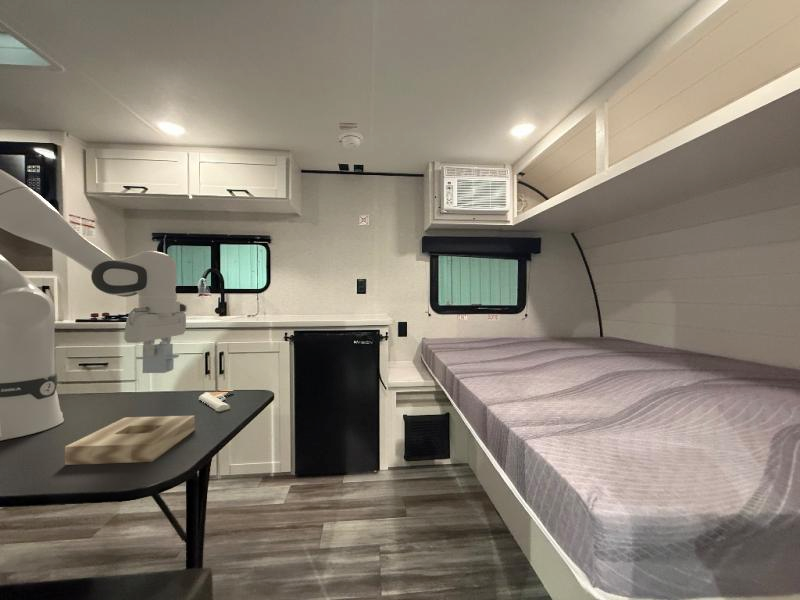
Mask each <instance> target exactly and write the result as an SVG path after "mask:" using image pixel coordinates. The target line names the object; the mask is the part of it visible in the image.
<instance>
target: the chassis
mask: <svg viewBox="0 0 800 600" xmlns="http://www.w3.org/2000/svg"><path fill="white" fill-rule="evenodd" d="M195 417H196V416H195V415H167V416H166V415H165V416H131V417H130V416H128V417H127V416H126V417H123V418H121V419H119V420H117V421H114V422H112V423H110V424H109V425H106V426H105V427H103V428H100V429H98V430H96V431H94V432H92V433H90V434H88V435H86V436H84V437H81V438H80V439H78V440H76V441H74V442H71V443H70V444H66V446H64V465H65V466H69V465H70V466H71V465H72V466H73V465H95V464H96V465H97V464H98V465H99V464H124V463H125V464H126V463H149V462H151V463H152V462H154V461H155V460H157V459H158V458H159V457H161V456H162V455H163V454H164V453H166V452H167V451H168V450H170V449H171V448H173V447H174V446H175V445H177V444H178V443H179V442H181V441H183V439H184V438H186V437H187V436H189V435H190V434H191V433H193V432H194V431H195V429H196V428H195V427H196V425H195V423H196V421H195V420H196V419H195Z"/></svg>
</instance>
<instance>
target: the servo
mask: <svg viewBox="0 0 800 600" xmlns="http://www.w3.org/2000/svg"><path fill="white" fill-rule="evenodd" d="M153 345H154V348H155V349H157V354H156V355H154V356H147V350H146V348H145V347H144V345H143V344H142V355H138V356H136V357H135V360H142V374H166V373H168V372H171V371H173V370H174V365H175V364H174V361H175V359H177V358H179V357H180V355H179V354H174V352H173V351H174V350H173V349H174V348H173V346H174V343H170V344H167V341H159V343H156V342H155V343H154V344H153Z"/></svg>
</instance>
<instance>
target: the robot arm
mask: <svg viewBox="0 0 800 600" xmlns="http://www.w3.org/2000/svg"><path fill="white" fill-rule="evenodd" d="M0 228H1V229H2V230H4V231H6V232H9V233H11V234H12V235H15V236H17V237H20V238H22V239H23V240H24V239H25V240H28V241H30V242H33V243H35V244H38V245H39V244H40V245H42V246H45V247H48V248H50V249H53V250H55V251H57V252H59V253H61V254H63V255H65V256H66V257H67V258H70V259H71V260H73V261H74V262H76V263H77V264H78V265H81V266H82V267H83V268H86V269H87V270H88V271H90V272H91V275H90V276H91V282H92V285H94V286H95V288H96V289H97V290H100V291H101V292H103V293H105V294H107V295H112V296H113V295H114V296H118V297H125V298H127V297H128V298H129V297H133V296H136V295H138V307H135V308H133V309H132V310H131V311H130V312H129V313H128V317H127V318H126V322H125V326H124V327H125V328H124V335H123V338H124V341H125V342H126V343H127V344H133V343H134V344H137V343H142V346H143V345H144V347H145V348H146V350H147V356H154V355H156V354H157V349H155V348H154V345H153V344H154V343H155V344H156V341H157V340H160V342H162V341H167V344H171V342H172V337H176V336H177V337H178V336H181V335H184V334H185V332H186V328H187V314H186V312H187V311H188V306H187V305H186V304H184V303H182V302H180V301H179V300H178V296H177V295H178V294H177V293H176V292H177V291H176V287H177V284H178V269H177V268H178V267H177V263H176V260H175V259H174V258H173V256H171V255H170V254H166V253H165V252H160V251H156V250H148V249H147V250H142V251H141V252H139V253H137V254H134V255H131V256H128V257H124V258H117V259H116V258H114V257H113V256H111V255H109V254H108V253H107V252H105V251H103V250H102V249H101V248H99V247H98V246H96V245H95V244H93V243H92V242H90V241H89V240H88V239H86V238H85V237H84V236H83V235H81V234H80V232H78V231H77V230H76V229H75V228H74V227H73V225H71V224H70V223H69V221H68V220H67V219H66V218H65V217H64V216H63V215H62V214H61V213H60V212H59V211H58V210H57V209H56V208H55V207H54V205H52V204H51V203H50V202H49V201H47V200H46V199H45V198H43V196H41V195H40V194H39V193H37V192H36V191H34V190H33V189H32V188H31V187H29V186H27V185H26V184H25V183H24V182H21V181H20V180H18V179H17V178H15V176H12V175H11V174H10V173H7V172H6V171H4V170H2V169H0ZM55 309H56V306H55V303H54V302H53V300H52V298H51V297H50V296H48V294H46V293H45V292H44V291H42V290H41V289H40V288H39V287H38V286H36V285H35V284H34V283H33V282H32V281H31V280H30V279H29V278H28V277H27V276H25V275H24V274H23V273H22V272H21V271H20V270H19V269H18V268H16V267H15V266H14V265H13V263H11V262H10V261H9V260H7V258H5V257H4V256H3V255H2V254H1V253H0V442H1V441H4V440H10V439H14V438H19V437H24V436H29V435H32V434H36V433H40V432H44V431H46V430H49V429H52V428H54V427H56V426H59V425H61V424H63V422H64V421H65V419H64V417H63V415H64V414H63V411H61V410H62V409H61V407H60V401H59V396H58V391H57V386H58V374H57V373H56V372H55V369H56V366H55V364H56V363H55V362H56V360H55V331H56V330H55V316H56V315H55V312H56V310H55ZM155 340H156V341H155Z"/></svg>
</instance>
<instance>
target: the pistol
mask: <svg viewBox="0 0 800 600" xmlns="http://www.w3.org/2000/svg"><path fill="white" fill-rule="evenodd" d="M219 391H234V390H233V389H229V388H224V389H221V390H219ZM202 393H203V394H200V396H198V401H199V400H201V401H202V402H201V401H200V402H201V403H203V402H204V403H203V404H205V403H206V404H207V406H208V405H209V406H208V407H210V408H212V409H214V410H215V412H219V413H220V412H224V411H227V410H230V408H231V405H230V404H228V403H226V402H225V401H226V400H227V398H226V397H224V395H226V394H227V393H228V392H217V391H215V392H214V391H213V392H207V391H205V392H202ZM219 398H221V399H219ZM225 399H226V400H225ZM223 400H225V401H224V402H222V401H223ZM206 404H205V405H206Z"/></svg>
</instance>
